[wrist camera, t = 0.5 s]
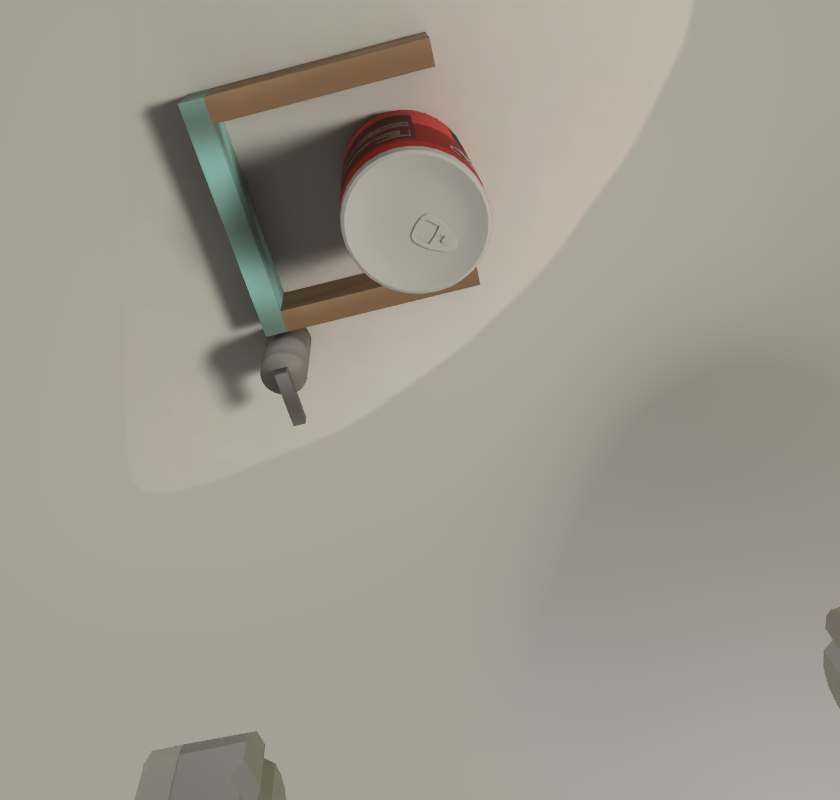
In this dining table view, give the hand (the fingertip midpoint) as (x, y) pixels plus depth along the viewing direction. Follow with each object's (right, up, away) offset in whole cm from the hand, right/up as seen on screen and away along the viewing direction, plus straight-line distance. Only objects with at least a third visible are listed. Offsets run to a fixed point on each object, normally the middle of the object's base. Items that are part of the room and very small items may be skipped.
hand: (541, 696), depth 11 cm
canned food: (-3, +19, +38) cm, 43 cm away
